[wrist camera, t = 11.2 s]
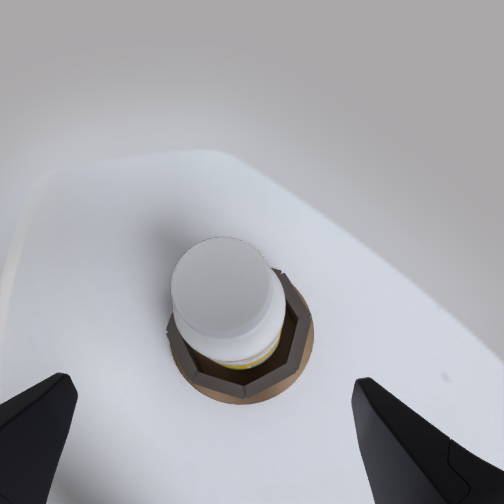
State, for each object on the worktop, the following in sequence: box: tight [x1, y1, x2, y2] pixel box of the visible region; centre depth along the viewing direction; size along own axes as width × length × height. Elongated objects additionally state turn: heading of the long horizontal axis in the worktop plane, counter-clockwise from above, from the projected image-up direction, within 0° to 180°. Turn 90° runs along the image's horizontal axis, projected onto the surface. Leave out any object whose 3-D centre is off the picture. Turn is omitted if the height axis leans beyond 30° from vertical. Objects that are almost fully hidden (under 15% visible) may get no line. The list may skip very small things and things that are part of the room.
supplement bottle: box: [170, 237, 286, 370], centre depth 16 cm, size 5×5×10 cm
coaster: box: [166, 268, 314, 405], centre depth 20 cm, size 10×10×3 cm
